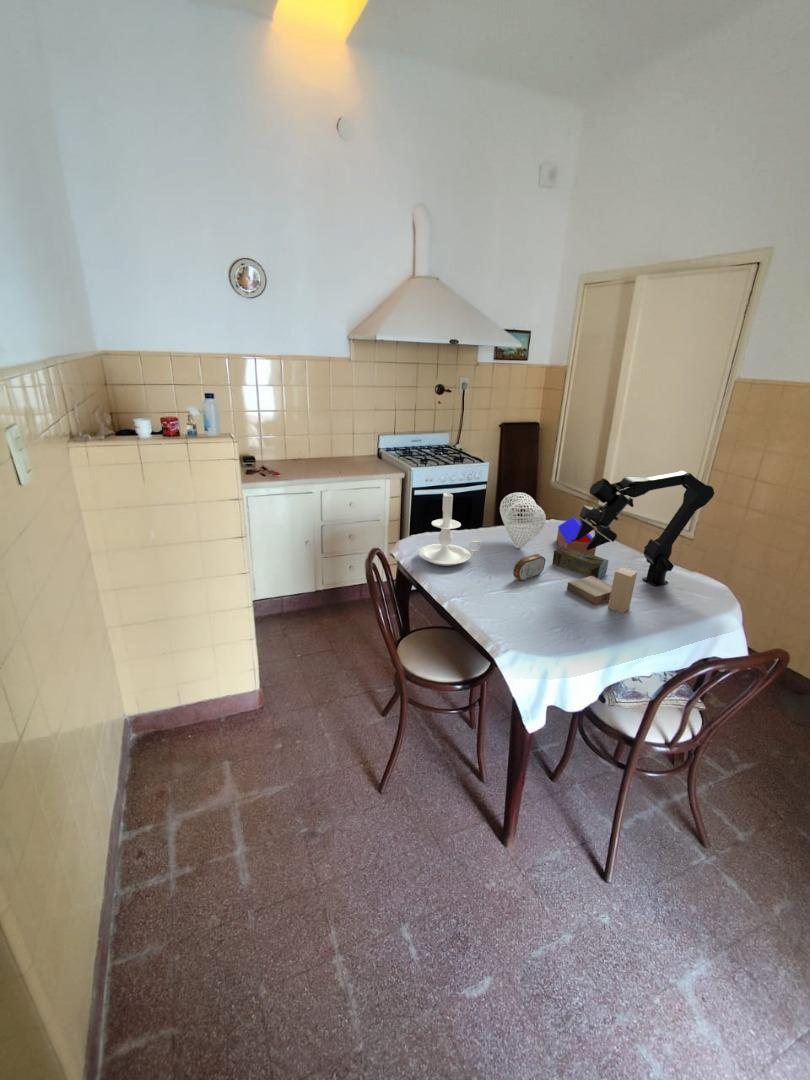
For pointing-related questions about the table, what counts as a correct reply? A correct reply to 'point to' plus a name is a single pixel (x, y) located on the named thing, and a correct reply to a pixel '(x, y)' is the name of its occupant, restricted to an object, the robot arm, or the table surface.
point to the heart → (534, 518)
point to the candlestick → (446, 540)
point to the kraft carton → (622, 589)
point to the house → (573, 536)
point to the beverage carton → (580, 562)
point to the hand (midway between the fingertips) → (581, 544)
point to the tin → (529, 567)
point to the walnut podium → (590, 589)
